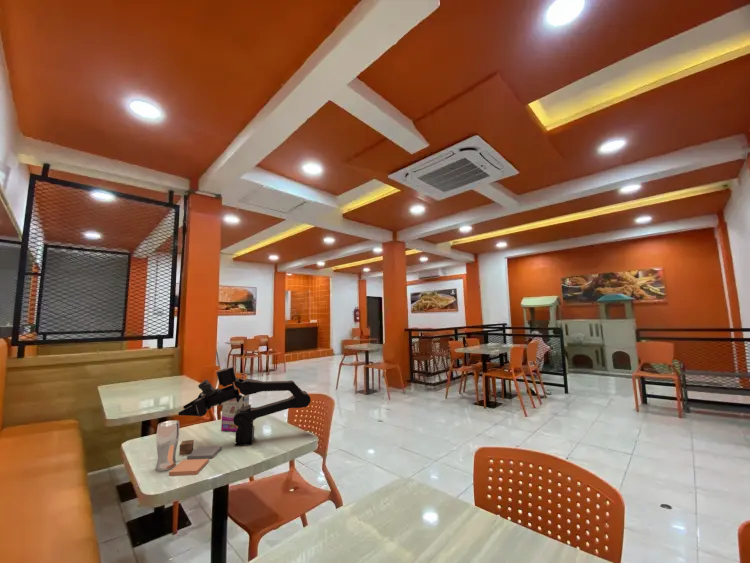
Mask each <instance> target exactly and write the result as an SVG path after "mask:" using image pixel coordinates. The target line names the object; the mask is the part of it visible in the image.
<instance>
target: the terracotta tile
mask: <svg viewBox="0 0 750 563" xmlns="http://www.w3.org/2000/svg"><path fill="white" fill-rule="evenodd" d="M209 461H210V459H191V460H187V459H183V460H181V461H179V462H178V463H177V464H176V466H175V467H174V468H172V469H170V470H169V471H168V476H171V475H172V476H173V477H174V476H191V475H192V476H194V475H198V474H199V473H200V472H201V471H202V470H203V469H204V467H205V466H207V464H209Z"/></svg>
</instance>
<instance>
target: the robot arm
mask: <svg viewBox="0 0 750 563" xmlns="http://www.w3.org/2000/svg"><path fill="white" fill-rule="evenodd" d="M215 373H216V376H217V380H218V384H219V386H222V387H221V388H215V387H213V385H212V384H211V382H210V381H209V380H208V379H205V380H203V381H201V382H200V383H199V384H198V385H197V387H198V388H199V389H200V390H201V392H200V393H199V395H198V396H197V398H195V399H193V400H192V401H190V402H188V403H186V404H185V405H183V410H180V411H179V412H178V413H177V414H178V416H187V417H190V416H191V417H192V416H193V417H200V418H201V417H203V416H206V414H207V413H208V411H209V410H210V409H212V408H213V407H216V406H222V403H224V402H226V401H229V400H232V399H235V398H236V400H237V402H239V400H240V399H241V398H242V395H240V394H239V393H241V394H243V395H249V396H250V395H254V394H258V393H261V392H283V391H288V392H290V393H291V396H289V397H288V398H285V399H281V400H278V401H274V402H271V403H268V404H263V405H261V406H257V407H252V404H250V403H249V405H247V406H245V407H241V409H238V410H237V411H236V413H235V415H234V419H233V422H234V424H235V425H236V426H238V428H237V432H235V438H234V440H235V444H234V446H252V444H253V443H254V441H255V440H256V437H255V425H254V421H255V420H256V419H258V418H259V419H260V418H261V417H262V418H263V417H264V416H268V415H273V414H275V413H279V412H282V411H285V410H289V409H302V408H306V407H309V405H310V404H311V401H312V400H311V396H310V395H309V393H308V392H307V391H306V390H302V389H301V388H300V387H299V386H298V385H297V384H296V383H295V381H294V380H278V381H277V380H274V381H271V380H270V381H265V380H264V381H263V380H258V379H253V378H252V379H251V378H245V379H243V378H239V377H237V376H236V372H235V368H234V366H231V367H227V368H226V367H225V368H222V369H220V370H217V371H215Z"/></svg>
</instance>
